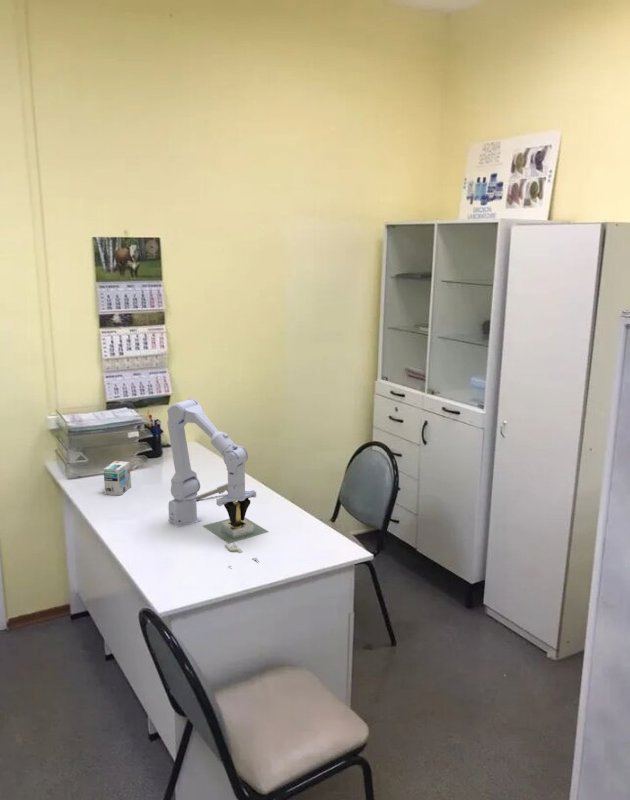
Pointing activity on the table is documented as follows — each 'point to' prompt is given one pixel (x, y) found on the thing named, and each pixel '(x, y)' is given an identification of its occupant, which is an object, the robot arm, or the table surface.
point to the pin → (237, 514)
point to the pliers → (235, 549)
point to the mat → (217, 531)
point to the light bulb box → (117, 478)
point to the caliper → (213, 492)
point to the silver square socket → (237, 529)
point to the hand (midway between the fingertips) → (237, 520)
